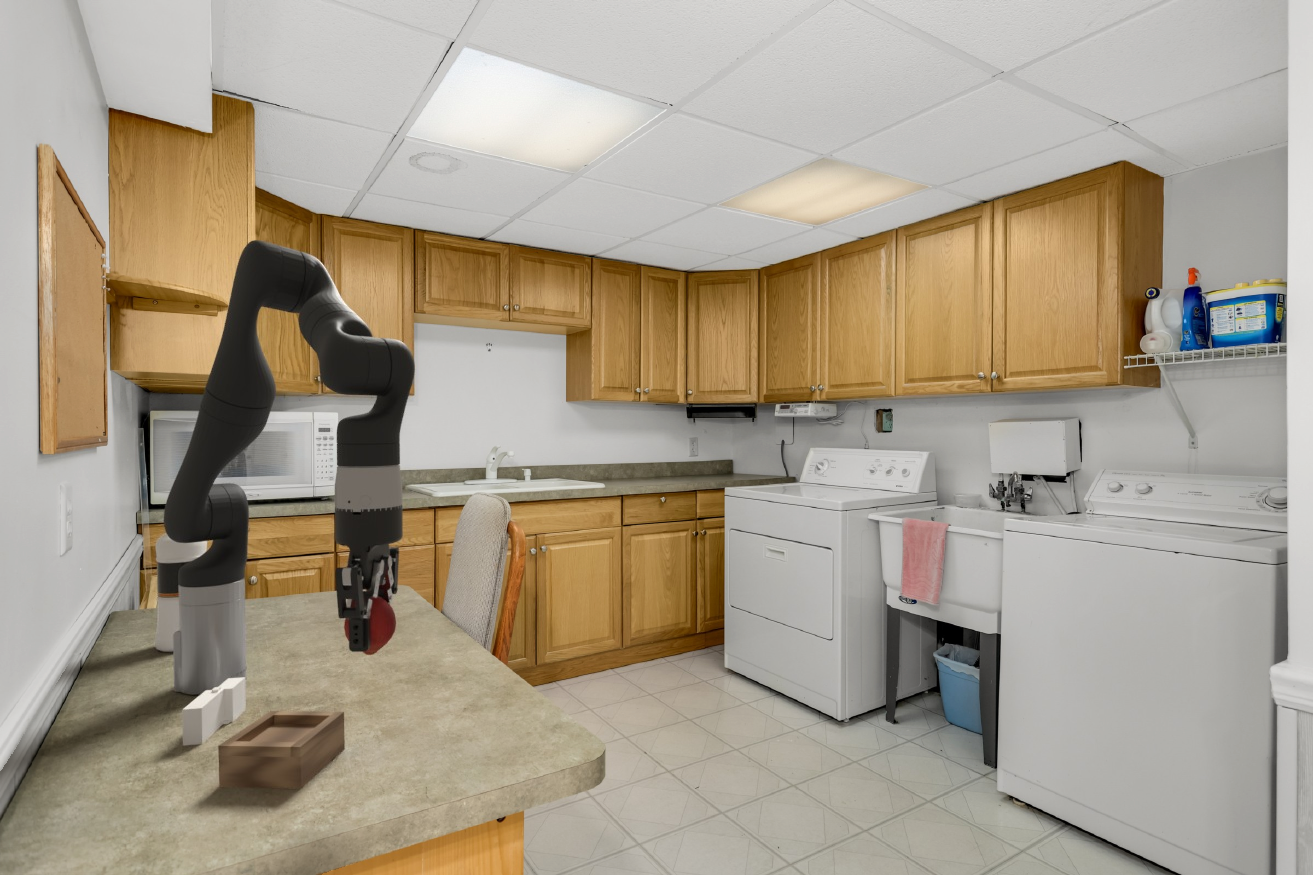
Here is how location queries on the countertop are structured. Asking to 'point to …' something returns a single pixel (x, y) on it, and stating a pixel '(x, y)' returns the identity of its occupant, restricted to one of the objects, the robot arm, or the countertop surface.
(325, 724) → the wooden box
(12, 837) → the countertop surface
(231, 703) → the white notched block
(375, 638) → the onion
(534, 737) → the countertop surface
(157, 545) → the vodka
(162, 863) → the countertop surface
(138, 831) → the countertop surface
